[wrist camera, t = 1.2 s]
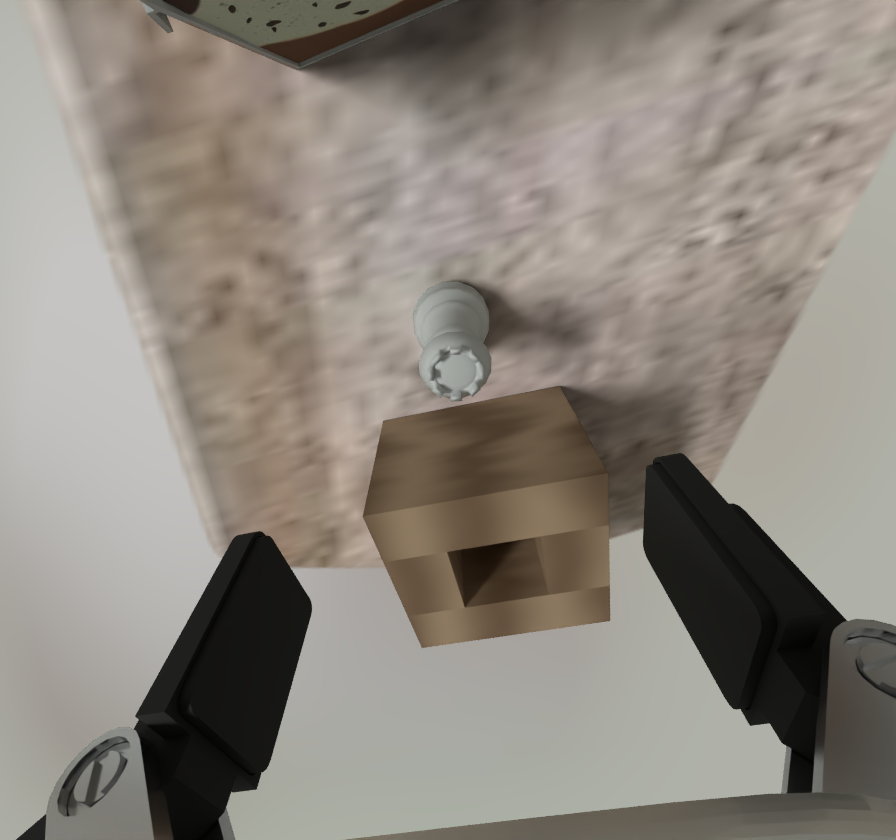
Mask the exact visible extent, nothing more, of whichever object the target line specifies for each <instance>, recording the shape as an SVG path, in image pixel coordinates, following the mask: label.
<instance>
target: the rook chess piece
mask: <svg viewBox="0 0 896 840" xmlns="http://www.w3.org/2000/svg"><path fill="white" fill-rule="evenodd" d="M413 319H414V332H415V335H416V337H417V339H418V341H419V343H420V345H421V347H422V348H423V351H422V354H421V357H420V359H419V370H420V375H421V377H422V379H423V381H424V383H425V385H426V386H427V387H428V388H429V389H431V390H432V391H433V392H434V393H435V394H436V395H438V396H439V397H440V398H441V397H442V396H444V397H447V398H451V401H462V398H463V397H466V396H469V395H471V396H472V397H473V396H474V395H475V394H476V393H477V392H478V391H479V390H480V388H481V387H482V386H483V385H484V384H485V383H486V381H487V379H488V377H489V375H490V373H491V356H490V354H489V352H488V349H487V347H486V345H484V344H483V343H484V341H485V339H486V336H487V334H488V332H489V311H488V308H487V306H486V303H485V301H484V298H483V297H482V296H481V295H480V294H479V293H478V292H477V291H476V290H475V289H474V288H473V287H471V286H468V285H466V284H463V283H461V282H441V283H439V284H437V285H435V286H433V287H431V288H428V289H427V291H426V292H425V293H424V294H423V295H422V296H421V297H420V298H419V299H418V301H417V304H416V307H415V310H414V313H413Z"/></svg>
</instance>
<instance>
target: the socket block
mask: <svg viewBox="0 0 896 840" xmlns="http://www.w3.org/2000/svg"><path fill="white" fill-rule="evenodd" d="M363 518H364V520H365V522H366V525H367V527H368V529H369V531H370V534H371V536H372V538H373V540H374V542H375V545H376V547H377V549H378V551H379V553H380V556H381V558H382V560H383V562H384V565H385V567H386V569H387V571H388V573H389V576H390V578H391V580H392V582H393V584H394V587H395V589H396V591H397V593H398V596H399V598H400V600H401V602H402V604H403V607H404V609H405V611H406V613H407V615H408V618H409V620H410V622H411V624H412V627H413V629H414V631H415V633H416V636H417V638H418V640H419V642H420V644H421V647H422V648H424V647H431V646H438V645H446V644H452V643H459V642H465V641H473V640H480V639H487V638H494V637H500V636H508V635H514V634H522V633H528V632H536V631H543V630H550V629H556V628H564V627H571V626H578V625H584V624H592V623H598V622H605V621H610V575H609V574H610V573H609V496H608V472H607V470H606V468H605V466H604V465H603V463H602V461H601V459H600V457H599V456H598V454H597V452H596V450H595V449H594V447H593V445H592V443H591V441H590V440H589V438H588V436H587V434H586V432H585V431H584V429H583V427H582V425H581V424H580V422H579V420H578V418H577V416H576V415H575V413H574V411H573V409H572V407H571V406H570V404H569V402H568V400H567V399H566V397H565V395H564V393H563V391H562V390H561V388H560V386H557V387H552V388H547V389H542V390H537V391H532V392H527V393H522V394H517V395H512V396H507V397H502V398H497V399H491V400H486V401H481V402H476V403H471V404H466V405H461V406H456V407H451V408H446V409H441V410H436V411H431V412H426V413H421V414H416V415H411V416H406V417H401V418H396V419H391V420H386V421H383V425H382V430H381V434H380V439H379V444H378V448H377V453H376V458H375V462H374V467H373V471H372V476H371V481H370V485H369V490H368V495H367V499H366V504H365V509H364V513H363Z"/></svg>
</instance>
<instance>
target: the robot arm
mask: <svg viewBox="0 0 896 840" xmlns="http://www.w3.org/2000/svg"><path fill="white" fill-rule="evenodd" d="M643 533H644V534H643V547H644V551H645V554H646V557H647V559H648V560H649V562H650V564H651V566H652V568H653V570H654V571H655V573H656V575H657V577H658V579H659V580H660V582H661V584H662V586H663V587H664V589H665V591H666V593H667V594H668V597H669V598H670V600H671V602H672V604H673V606H674V607H675V609H676V611H677V612H678V614H679V616H680V618H681V620H682V622H683V623H684V625H685V627H686V629H687V631H688V633H689V634H690V636H691V638H692V640H693V641H694V643H695V645H696V647H697V649H698V650H699V652H700V654H701V656H702V658H703V659H704V661H705V663H706V665H707V667H708V668H709V670H710V672H711V674H712V676H713V677H714V679H715V680H716V683H717V684H718V686H719V688H720V690H721V692H722V694H723V695H724V697H725V699H726V700H727V702H728V703H729V705H730V706H731V707H732V708H733V709H741V711H742V712H743V714H744V716H745V718H746V719H747V721H748V723H749V724H750V726H752V725H760V724H767V723H770V724H771V726H772V728H773V729H774V731H775V733H776V734H777V736H778V737H779V739H780V741H781V742H782V743H783V744H784V745H786V756H785V764H784V774H783V783H782V792H781V794H763V795H751V796H741V797H729V798H718V799H708V800H696V801H684V802H673V803H665V804H655V805H646V806H638V807H629V808H619V809H610V810H600V811H591V812H582V813H574V814H564V815H555V816H546V817H537V818H529V819H519V820H511V821H502V822H493V823H485V824H476V825H468V826H458V827H450V828H441V829H433V830H425V831H415V832H407V833H398V834H390V835H381V836H372V837H364V838H356V839H348V840H896V626H894V625H891V624H887V623H883V622H879V621H875V620H863V619H855V620H850V621H847V620H846V619H845V618H844V617H843V616H842V615H841V614H840V613H839V612H838V611H837V610H836V608H835V607H834V606H833V605H832V604H831V603H830V602H829V601H828V600H827V599H826V598H825V597H824V595H823V594H821V592H820V591H819V590H818V589H817V588H816V587H815V586H814V585H813V584H812V583H811V581H809V579H808V578H807V577H806V576H805V575H804V574H803V573H802V572H801V571H800V570H799V568H798V567H797V566H796V565H795V564H794V563H793V562H792V561H791V560H790V559H789V558H788V557H787V556H786V555H785V553H784V552H783V551H782V550H781V549H780V548H779V547H778V546H777V545H776V544H775V543H774V542H773V540H772V539H771V538H770V537H769V536H768V535H767V534H766V533H765V532H764V531H763V530H762V529H761V528H760V526H759V525H758V524H757V523H756V522H755V521H754V520H753V519H752V518H751V517H750V516H749V515H748V513H747V512H746V511H745V510H743V509H742V508H741V507H740V506H738V505H736V504H728V503H727V502H726V501H725V500H724V498H723V497H722V496H721V495H720V494H719V493H718V492H717V490H716V489H715V488H714V487H713V486H712V485H711V484H710V483H709V481H708V480H707V479H706V478H705V477H704V476H703V475H702V474H701V473H700V471H699V470H698V469H697V468H696V467H695V466H694V465H693V464H692V463H691V461H690V460H689V459H688V458H687V457H686V456H685V455H684V454H681V453H678V454H673V455H668V456H662V457H657V458H655V459H654V460H653V465H649V466H647V468H646V485H645V508H644V531H643ZM311 612H312V605H311V601H310V598H309V597H308V595H307V594H306V592H305V591H304V589H303V588H302V586H301V584H300V582H299V581H298V579H297V578H296V576H295V575H294V573H293V571H292V570H291V568H290V566H289V565H288V563H287V562H286V560H285V558H284V557H283V555H282V554H281V552H280V550H279V549H278V547H277V546H276V544H275V542H274V541H273V539H272V538H271V537H270V536H266V535H265V534H264V533H263V532H261V531H259V532H253V533H247V534H242V535H237V536H236V537H235V538H234V539H233V540H232V542H231V544H230V545H229V547H228V549H227V551H226V553H225V554H224V556H223V558H222V560H221V562H220V564H219V565H218V567H217V569H216V571H215V573H214V574H213V576H212V578H211V580H210V582H209V583H208V585H207V587H206V589H205V591H204V593H203V594H202V596H201V598H200V600H199V602H198V603H197V605H196V607H195V609H194V611H193V612H192V614H191V616H190V618H189V620H188V621H187V624H186V626H185V627H184V629H183V631H182V632H181V635H180V636H179V638H178V640H177V641H176V643H175V645H174V647H173V649H172V650H171V652H170V654H169V656H168V658H167V659H166V661H165V663H164V665H163V667H162V669H161V670H160V672H159V674H158V676H157V678H156V680H155V681H154V683H153V685H152V687H151V688H150V690H149V692H148V694H147V696H146V698H145V700H144V701H143V703H142V705H141V707H140V708H139V710H138V712H137V714H136V717H137V718H138V719H139V721H138V723H137V724H136V726H135V728H134V729H132V728H130V727H120V728H117V729H114V730H111V731H109V732H107V733H105V734H103V735H102V736H100V737H99V738H97V739H95V740H94V741H93V742H92V743H90V744H89V745H88V746H87V747H86V748H85V749H83V750H82V751H81V752H80V753H79V754H78V755H77V756H76V758H75V759H74V760H73V761H72V762H71V763H70V764H69V766H68V767H67V768H66V770H65V771H64V773H63V774H62V775H61V777H60V779H59V780H58V781H57V783H56V785H55V787H54V790H53V792H52V794H51V796H50V798H49V803H48V807H47V812H46V815H44V816H43V817H42V818H41V819H40V820H39V821H37V822H36V823H35V824H34V825H33V826H32V827H30V828H29V829H28V830H27V831H26V832H25V833H24V834H22V835H21V836H20V837H19V838H17V839H16V840H235V837H234V833H233V830H232V826H231V823H230V819H229V816H228V812H227V809H226V806H227V802H228V800H229V796H230V794H231V791H232V792H239V791H247V790H256V789H257V786H258V783H259V779H260V776H261V772H264V771H265V770H266V769H267V767H268V765H269V763H270V760H271V756H272V753H273V749H274V746H275V742H276V739H277V735H278V731H279V728H280V724H281V721H282V717H283V714H284V710H285V706H286V703H287V699H288V696H289V692H290V689H291V685H292V681H293V678H294V674H295V671H296V667H297V663H298V660H299V656H300V653H301V649H302V646H303V642H304V638H305V635H306V631H307V628H308V624H309V620H310V617H311Z"/></svg>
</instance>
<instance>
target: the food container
mask: <svg viewBox="0 0 896 840" xmlns="http://www.w3.org/2000/svg"><path fill="white" fill-rule="evenodd" d="M140 1H141V2H142V4H143V6H144V9H145V11H146V13H147V14H148V15H149V16H150V17H151V18H152V19H153V20H154V21H155V22H156V23H158V24H159V25H160V26H161V27H162V28H163V29H164V30H165V31H166V32H167V33H170V32H173V29H172V27H171V25H170V22H169V20H168V18H167V15H168V16H171V17H173V18H175V19H178V20H180V21H182V22H185V23H187V24H189V25H192V26H194V27H197V28H199V29H201V30H204V31H206V32H208V33H211V34H213V35H215V36H218V37H220V38H222V39H225V40H227V41H229V42H232V43H234V44H237V45H239V46H241V47H244V48H246V49H248V50H251V51H253V52H255V53H258V54H260V55H262V56H265V57H267V58H270V59H272V60H274V61H277V62H279V63H281V64H284V65H286V66H288V67H291V68H293V69H295V70H298V69H301V68H303V67H305V66H308V65H310V64H312V63H315V62H317V61H319V60H322V59H324V58H326V57H329V56H331V55H333V54H336V53H338V52H340V51H342V50H345V49H347V48H349V47H352V46H354V45H356V44H359V43H361V42H363V41H366V40H368V39H370V38H373V37H375V36H377V35H380V34H382V33H384V32H387V31H389V30H391V29H394V28H396V27H398V26H401V25H403V24H405V23H408V22H410V21H412V20H415V19H417V18H419V17H422V16H424V15H426V14H429V13H431V12H433V11H436V10H438V9H440V8H443V7H445V6H447V5H450V4H452V3H454V2H456V1H459V0H140Z"/></svg>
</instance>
